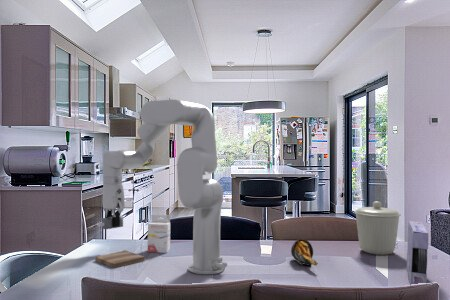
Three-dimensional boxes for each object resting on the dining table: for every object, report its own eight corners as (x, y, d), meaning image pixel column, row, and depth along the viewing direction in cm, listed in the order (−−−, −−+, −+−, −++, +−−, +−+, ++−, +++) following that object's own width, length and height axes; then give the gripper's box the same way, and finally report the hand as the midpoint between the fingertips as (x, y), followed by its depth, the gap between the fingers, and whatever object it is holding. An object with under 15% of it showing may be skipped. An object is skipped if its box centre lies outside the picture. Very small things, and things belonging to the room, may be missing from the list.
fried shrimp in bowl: (306, 244, 154) (334, 239, 138) (302, 272, 149) (330, 270, 133) (286, 237, 152) (312, 230, 136) (281, 265, 147) (307, 262, 131)
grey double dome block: (125, 226, 161) (125, 216, 161) (100, 230, 153) (100, 220, 153) (119, 225, 163) (119, 215, 163) (95, 229, 155) (95, 219, 155)
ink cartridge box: (147, 252, 158) (147, 216, 158) (150, 249, 163) (150, 214, 163) (167, 253, 158) (167, 216, 158) (170, 250, 162) (170, 214, 163)
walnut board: (144, 260, 146) (144, 256, 146) (114, 268, 137) (114, 263, 137) (125, 254, 155) (125, 250, 155) (95, 260, 145) (95, 256, 145)
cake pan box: (428, 291, 116) (428, 232, 116) (410, 288, 118) (410, 230, 118) (422, 272, 134) (422, 221, 134) (406, 270, 136) (406, 220, 136)
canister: (410, 255, 156) (411, 203, 156) (375, 259, 150) (375, 205, 150) (377, 245, 173) (378, 198, 173) (344, 248, 166) (345, 199, 167)
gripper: (132, 181, 156) (132, 227, 156) (109, 179, 167) (110, 222, 167) (115, 182, 151) (115, 229, 150) (93, 180, 162) (93, 224, 162)
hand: (112, 225), depth 159 cm, fingers closed on grey double dome block, 4 cm apart
